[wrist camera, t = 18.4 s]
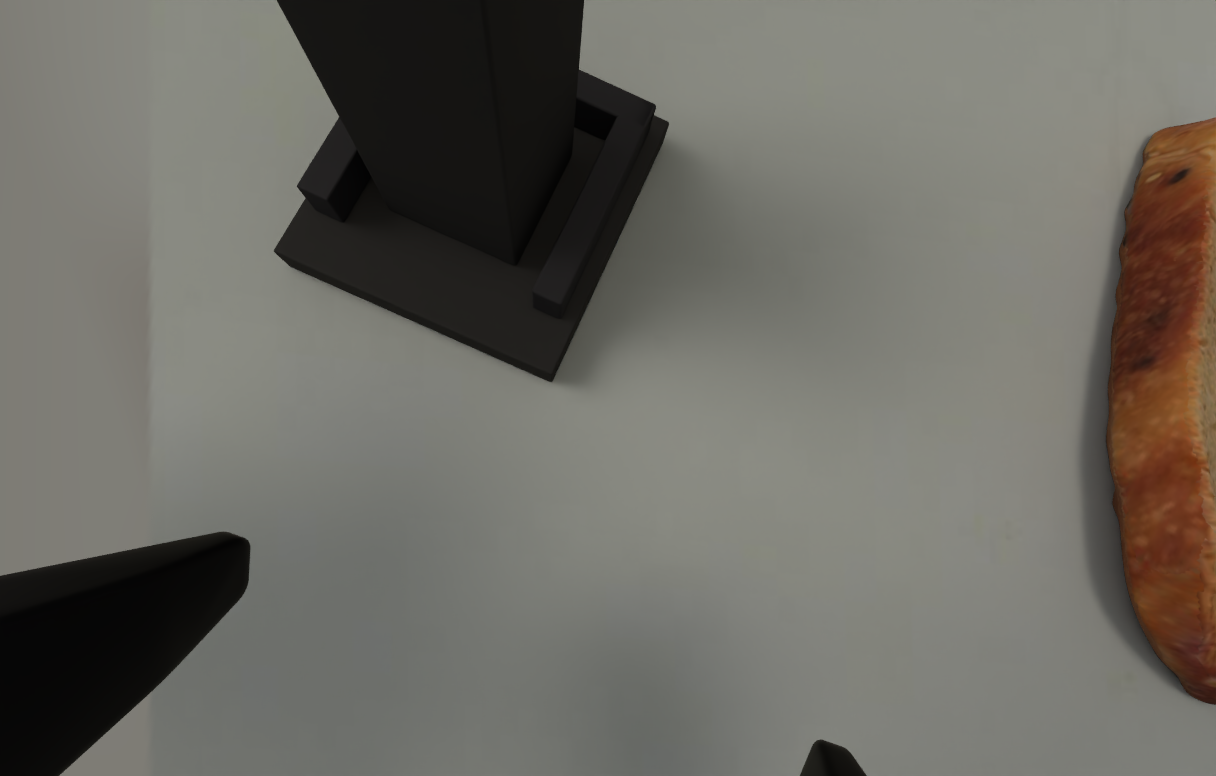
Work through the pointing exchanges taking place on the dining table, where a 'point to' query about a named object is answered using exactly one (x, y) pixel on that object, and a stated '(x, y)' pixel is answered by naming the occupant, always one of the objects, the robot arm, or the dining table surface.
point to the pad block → (453, 105)
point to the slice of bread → (1169, 402)
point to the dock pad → (467, 277)
